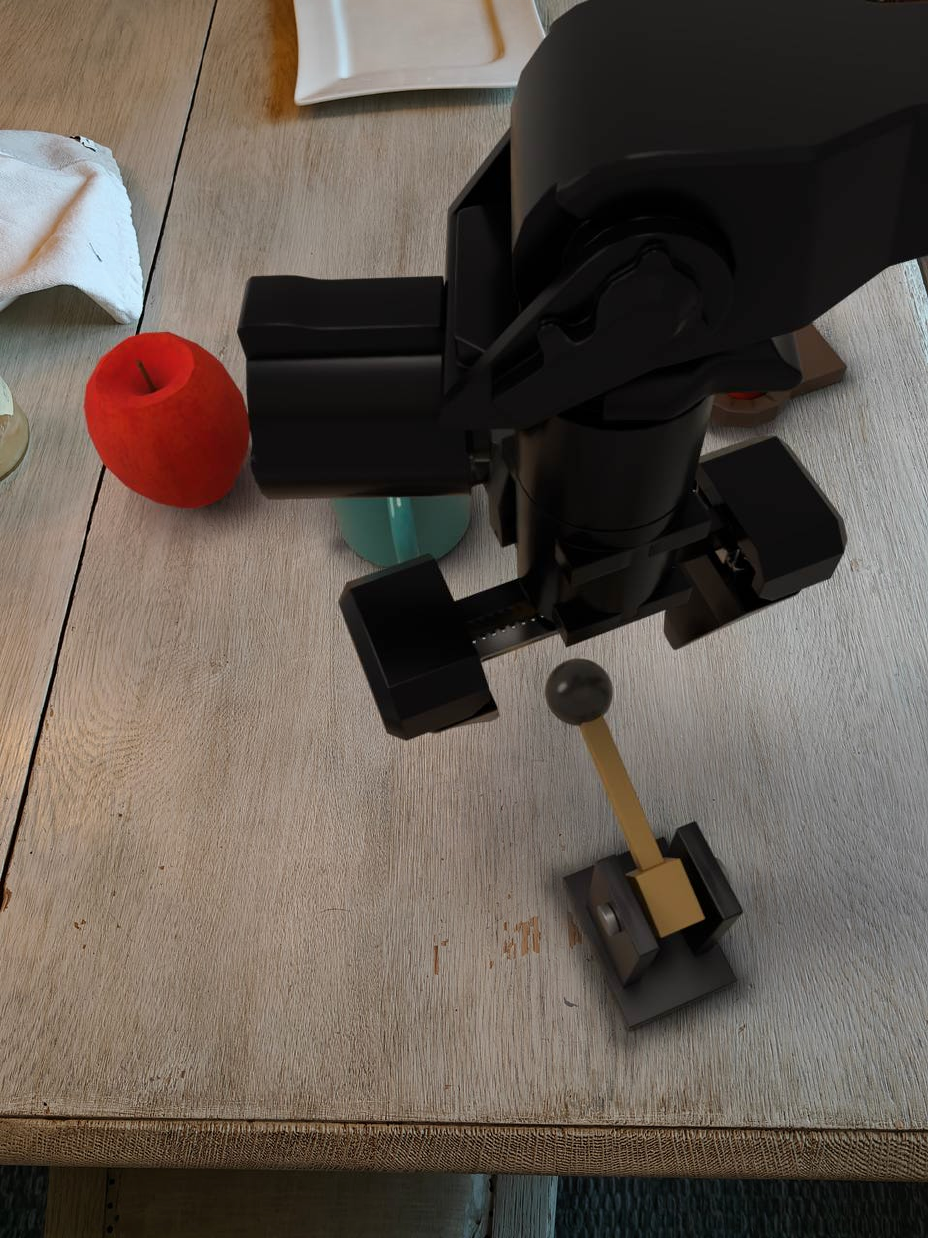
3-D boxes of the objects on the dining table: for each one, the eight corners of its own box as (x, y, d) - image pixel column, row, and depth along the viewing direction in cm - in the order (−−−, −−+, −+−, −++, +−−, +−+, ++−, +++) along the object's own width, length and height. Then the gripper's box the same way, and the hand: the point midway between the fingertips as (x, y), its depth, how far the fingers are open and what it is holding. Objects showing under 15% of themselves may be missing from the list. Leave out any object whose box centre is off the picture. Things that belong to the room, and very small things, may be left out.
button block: (783, 308, 72) (793, 276, 69) (859, 402, 67) (873, 371, 64) (648, 354, 70) (652, 323, 68) (716, 453, 66) (723, 424, 63)
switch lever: (530, 678, 47) (539, 667, 44) (590, 655, 47) (603, 642, 44) (635, 936, 44) (652, 943, 41) (697, 909, 45) (719, 915, 42)
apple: (117, 455, 69) (41, 327, 58) (248, 411, 70) (198, 277, 59) (147, 561, 64) (71, 443, 53) (287, 511, 65) (239, 386, 55)
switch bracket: (561, 883, 52) (568, 829, 43) (661, 842, 53) (687, 780, 44) (627, 1031, 48) (648, 1004, 40) (733, 984, 49) (776, 948, 40)
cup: (348, 621, 61) (314, 519, 51) (334, 474, 67) (300, 356, 57) (489, 599, 61) (481, 493, 51) (462, 454, 67) (450, 334, 57)
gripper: (741, 219, 35) (681, 480, 49) (256, 376, 33) (335, 605, 46) (919, 433, 30) (797, 659, 44) (356, 639, 27) (412, 811, 41)
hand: (581, 675), depth 44 cm, fingers open, 9 cm apart
